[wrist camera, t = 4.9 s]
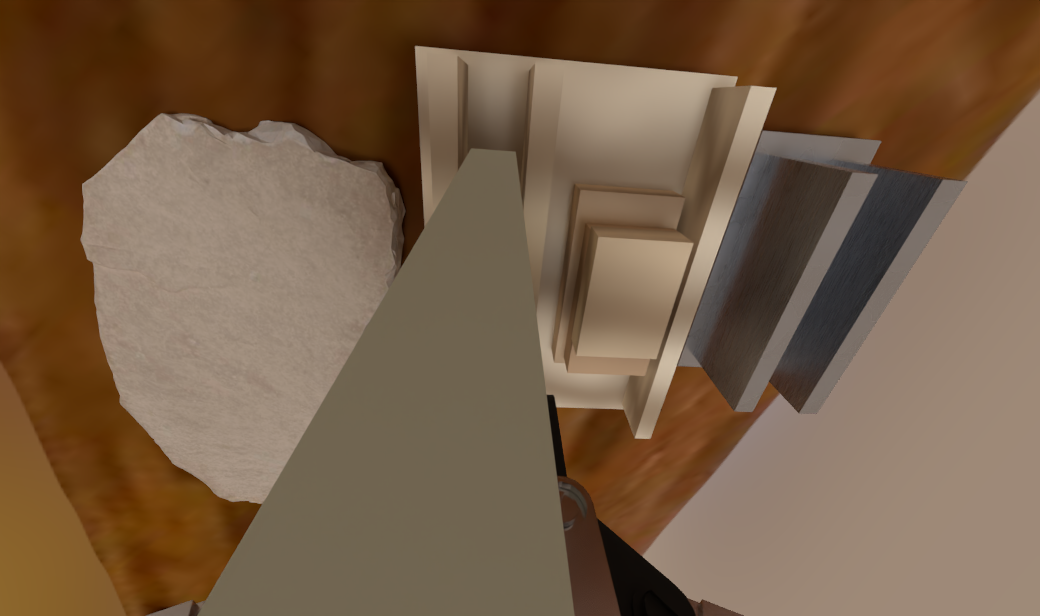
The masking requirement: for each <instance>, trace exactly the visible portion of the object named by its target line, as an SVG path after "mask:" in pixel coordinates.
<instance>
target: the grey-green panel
mask: <svg viewBox="0 0 1040 616" xmlns="http://www.w3.org/2000/svg"><path fill="white" fill-rule="evenodd" d="M197 616H575V614H574V607H573V599H572V591H571V583H570V575H569V567H568V559H567V551H566V544H565V536H564V528H563V520H562V512H561V504H560V496H559V489H558V481H557V473H556V465H555V457H554V449H553V441H552V434H551V426H550V418H549V410H548V402H547V394H546V386H545V378H544V371H543V363H542V355H541V347H540V339H539V331H538V323H537V316H536V308H535V300H534V292H533V284H532V276H531V268H530V261H529V253H528V245H527V237H526V229H525V221H524V213H523V205H522V198H521V190H520V182H519V174H518V166H517V158H516V152H513V151H500V150H487V149H474V148H471V149H470V151H469V153H468V155H467V156H466V158H465V160H464V161H463V163H462V165H461V166H460V168H459V170H458V172H457V173H456V175H455V177H454V178H453V180H452V182H451V184H450V185H449V187H448V189H447V190H446V192H445V194H444V195H443V197H442V199H441V201H440V202H439V204H438V206H437V207H436V209H435V211H434V213H433V214H432V216H431V218H430V219H429V221H428V223H427V224H426V226H425V228H424V230H423V231H422V233H421V235H420V236H419V238H418V240H417V242H416V243H415V245H414V247H413V248H412V250H411V252H410V253H409V255H408V257H407V259H406V260H405V262H404V264H403V265H402V267H401V269H400V271H399V272H398V274H397V276H396V277H395V279H394V281H393V282H392V284H391V286H390V288H389V289H388V291H387V293H386V294H385V296H384V298H383V300H382V301H381V303H380V305H379V306H378V308H377V310H376V311H375V313H374V315H373V317H372V318H371V320H370V322H369V323H368V325H367V327H366V329H365V330H364V332H363V334H362V335H361V337H360V339H359V340H358V342H357V344H356V346H355V347H354V349H353V351H352V352H351V354H350V356H349V358H348V359H347V361H346V363H345V364H344V366H343V368H342V369H341V371H340V373H339V375H338V376H337V378H336V380H335V381H334V383H333V385H332V387H331V388H330V390H329V392H328V393H327V395H326V397H325V398H324V400H323V402H322V404H321V405H320V407H319V409H318V410H317V412H316V414H315V416H314V417H313V419H312V421H311V422H310V424H309V426H308V427H307V429H306V431H305V433H304V434H303V436H302V438H301V439H300V441H299V443H298V445H297V446H296V448H295V450H294V451H293V453H292V455H291V456H290V458H289V460H288V462H287V463H286V465H285V467H284V468H283V470H282V472H281V474H280V475H279V477H278V479H277V480H276V482H275V484H274V485H273V487H272V489H271V491H270V492H269V494H268V496H267V497H266V499H265V501H264V503H263V504H262V506H261V508H260V509H259V511H258V513H257V514H256V516H255V518H254V520H253V521H252V523H251V525H250V526H249V528H248V530H247V531H246V533H245V535H244V537H243V538H242V540H241V542H240V543H239V545H238V547H237V549H236V550H235V552H234V554H233V555H232V557H231V559H230V560H229V562H228V564H227V566H226V567H225V569H224V571H223V572H222V574H221V576H220V578H219V579H218V581H217V583H216V584H215V586H214V588H213V589H212V591H211V593H210V595H209V596H208V598H207V600H206V601H205V603H204V605H203V607H202V608H201V610H200V612H199V613H198V615H197Z"/></svg>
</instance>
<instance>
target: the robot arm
mask: <svg viewBox="0 0 1040 616" xmlns="http://www.w3.org/2000/svg"><path fill="white" fill-rule="evenodd" d="M547 402H548V410H549V418H550V426H551V434H552V441H553V449H554V457H555V465H556V473H557V481H558V489H559V496H560V504H561V512H562V520H563V528H564V536H565V544H566V551H567V559H568V567H569V575H570V583H571V591H572V599H573V607H574V614H575V616H743V615H741V614H738V613H736V612H733V611H731V610H728V609H725V608H723V607H720V606H718V605H715V604H713V603H710V602H707V601H705V600H702V601H701V602H700V603H698V602H696V601H693V600H691V599H688V598H687V597H686V596H685V595H684V594H683V593H682V592H681V591H680V589H678V587H677V586H676V585H675V584H673V583H672V582H671V581H670V580H669V579H668V578H666V577H665V576H664V575H663V574H662V573H661V572H659V571H658V570H657V569H656V568H655V567H654V566H652V565H651V564H650V563H649V562H648V561H647V560H645V559H644V558H643V557H642V556H641V555H640V554H638V553H637V552H636V551H635V550H634V549H633V548H631V547H630V546H629V545H628V544H627V543H626V542H624V541H623V540H622V539H621V538H620V537H618V536H617V535H616V534H615V533H614V532H613V531H611V530H610V529H609V528H608V527H607V526H606V525H604V524H603V523H602V522H601V521H600V520H599V519H597V517H596V513H595V509H594V505H593V502H592V500H591V497H590V495H589V493H588V492H587V491H586V490H585V488H584V487H583V486H582V485H580V484H579V483H578V482H577V481H575V480H573V479H570V478H568V477H567V475H566V468H565V462H564V455H563V448H562V442H561V435H560V429H559V422H558V416H557V409H556V402H555V397H554V395H547ZM204 603H205V601H203V602H200V603H197V604H196V603H195V602H194V601H193V600H191V601H188V602H185V603H182V604H179V605H176V606H173V607H170V608H167V609H164V610H161V611H158V612H155V613H152V614H149V615H146V616H197V615H198V613H199V612H200V610H201V608H202V607H203V605H204Z"/></svg>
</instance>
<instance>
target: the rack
mask: <svg viewBox="0 0 1040 616" xmlns="http://www.w3.org/2000/svg"><path fill="white" fill-rule="evenodd" d="M415 56H416V75H417V94H418V113H419V132H420V151H421V170H422V189H423V208H424V227H425V226H426V224H427V223H428V221H429V219H430V218H431V216H432V214H433V213H434V211H435V209H436V207H437V206H438V204H439V202H440V201H441V199H442V197H443V195H444V194H445V192H446V190H447V189H448V187H449V185H450V184H451V182H452V180H453V178H454V177H455V175H456V173H457V172H458V170H459V168H460V166H461V165H462V163H463V161H464V160H465V158H466V156H467V155H468V153H469V151H470V149H471V148H474V149H487V150H500V151H513V152H516V158H517V166H518V174H519V182H520V190H521V198H522V205H523V213H524V221H525V229H526V237H527V245H528V253H529V261H530V268H531V276H532V284H533V292H534V300H535V308H536V316H537V323H538V331H539V339H540V347H541V355H542V363H543V371H544V378H545V386H546V394H547V395H554V397H555V402H556V407H572V408H602V409H624V411H625V414H626V416H627V419H628V422H629V424H630V427H631V430H632V432H633V435H634V438H643V439H650V438H651V435H652V433H653V430H654V427H655V424H656V421H657V419H658V416H659V413H660V410H661V408H662V405H663V402H664V399H665V396H666V394H667V391H668V388H669V385H670V383H671V380H672V377H673V374H674V371H675V369H676V366H677V363H678V360H679V358H680V355H681V352H682V349H683V347H684V344H685V341H686V338H687V335H688V333H689V330H690V327H691V324H692V322H693V319H694V316H695V313H696V310H697V308H698V305H699V302H700V299H701V297H702V294H703V291H704V288H705V285H706V283H707V280H708V277H709V274H710V272H711V269H712V266H713V263H714V261H715V258H716V255H717V252H718V249H719V247H720V244H721V241H722V238H723V236H724V233H725V230H726V227H727V224H728V222H729V219H730V216H731V213H732V211H733V208H734V205H735V202H736V200H737V197H738V194H739V191H740V188H741V186H742V183H743V180H744V177H745V175H746V172H747V169H748V166H749V163H750V161H751V158H752V155H753V152H754V150H755V147H756V144H757V141H758V138H759V136H760V133H761V130H762V127H763V125H764V122H765V119H766V116H767V114H768V111H769V108H770V105H771V102H772V100H773V97H774V94H775V91H776V89H777V88H770V87H759V86H738V87H735V84H736V81H737V78H738V77H735V76H724V75H714V74H703V73H693V72H682V71H672V70H661V69H651V68H641V67H630V66H620V65H609V64H599V63H588V62H578V61H567V60H557V59H547V58H536V57H526V56H515V55H505V54H494V53H484V52H473V51H463V50H453V49H442V48H432V47H421V46H415ZM575 184H588V185H602V186H615V187H629V188H642V189H656V190H670V191H674V192H676V193H678V194H680V195H682V196H683V197H685V201H684V205H683V208H682V212H681V215H680V218H679V222H678V225H677V229H676V230H677V231H678V232H680V233H681V234H683V235H684V236H685V237H687V238H688V239H689V240H690V241H692V242H693V243H694V244H693V247H692V250H691V253H690V256H689V259H688V262H687V265H686V269H685V272H684V275H683V278H682V281H681V284H680V287H679V290H678V293H677V296H676V300H675V303H674V306H673V309H672V312H671V315H670V318H669V321H668V324H667V327H666V331H665V334H664V337H663V340H662V343H661V346H660V349H659V352H658V355H657V358H656V359H650V361H649V364H648V367H647V371H646V374H645V376H632V375H606V374H581V373H567V370H566V365H565V363H554V360H553V354H552V349H551V347H552V340H553V333H554V326H555V319H556V312H557V305H558V299H559V292H560V285H561V278H562V271H563V264H564V257H565V250H566V243H567V236H568V229H569V223H570V216H571V209H572V202H573V195H574V188H575Z"/></svg>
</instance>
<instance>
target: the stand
mask: <svg viewBox="0 0 1040 616" xmlns="http://www.w3.org/2000/svg"><path fill="white" fill-rule="evenodd" d="M880 143H881V141H878V140H869V139H859V138H849V137H837V136H826V135H814V134H802V133H791V132H779V131H768V130H761V133H760V136H759V138H758V141H757V144H756V147H755V150H754V152H753V155H752V158H751V161H750V163H749V166H748V169H747V172H746V175H745V177H744V180H743V183H742V186H741V188H740V191H739V194H738V197H737V200H736V202H735V205H734V208H733V211H732V213H731V216H730V219H729V222H728V224H727V227H726V230H725V233H724V236H723V238H722V241H721V244H720V247H719V249H718V252H717V255H716V258H715V261H714V263H713V266H712V269H711V272H710V274H709V277H708V280H707V283H706V285H705V288H704V291H703V294H702V297H701V299H700V302H699V305H698V308H697V310H696V313H695V316H694V319H693V322H692V324H691V327H690V330H689V333H688V335H687V338H686V341H685V344H684V347H683V349H682V352H681V355H680V358H679V360H678V363H677V366H691V367H702V368H703V369H704V370H705V372H706V373H707V375H708V376H709V377H710V379H711V380H712V381H713V383H714V384H715V385H716V387H717V388H718V390H719V391H720V392H721V394H722V395H723V396H724V398H725V399H726V400H727V402H728V403H729V405H730V406H731V407H732V409H733V410H734V411H741V412H753V410H754V408H755V406H756V404H757V402H758V401H759V399H760V397H761V395H762V393H763V391H764V389H765V387H766V386H767V384H768V382H770V383H771V384H772V385H773V386H774V387H775V388H776V389H777V390H778V391H779V392H780V394H781V395H782V396H783V397H784V398H785V399H786V400H787V401H788V402H789V403H790V404H791V405H792V406H793V407H794V409H795V410H796V411H797V412H798V413H803V414H817V413H818V411H819V410H820V408H821V406H822V405H823V404H824V402H825V400H826V399H827V397H828V396H829V394H830V393H831V391H832V390H833V388H834V387H835V385H836V383H837V382H838V380H839V379H840V377H841V376H842V374H843V373H844V371H845V370H846V368H847V366H848V365H849V363H850V362H851V360H852V359H853V357H854V356H855V354H856V353H857V351H858V350H859V348H860V347H861V345H862V343H863V342H864V340H865V339H866V337H867V336H868V334H869V333H870V331H871V330H872V328H873V327H874V325H875V324H876V322H877V320H878V319H879V317H880V316H881V314H882V313H883V311H884V310H885V308H886V307H887V305H888V303H889V302H890V300H891V299H892V297H893V296H894V294H895V293H896V291H897V290H898V288H899V287H900V285H901V284H902V282H903V280H904V279H905V277H906V276H907V274H908V273H909V271H910V270H911V268H912V267H913V265H914V264H915V262H916V260H917V259H918V257H919V256H920V254H921V253H922V251H923V249H924V248H925V247H926V245H927V244H928V242H929V240H930V239H931V237H932V236H933V234H934V233H935V231H936V230H937V228H938V227H939V225H940V224H941V222H942V220H943V219H944V217H945V216H946V214H947V213H948V211H949V210H950V208H951V207H952V205H953V204H954V202H955V200H956V199H957V197H958V196H959V194H960V193H961V191H962V190H963V188H964V187H965V185H966V184H967V181H962V180H956V179H950V178H945V177H939V176H934V175H928V174H922V173H917V172H911V171H905V170H900V169H894V168H889V167H883V166H877V165H872V164H870V163H871V161H872V159H873V157H874V155H875V153H876V151H877V149H878V147H879V145H880Z"/></svg>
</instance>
